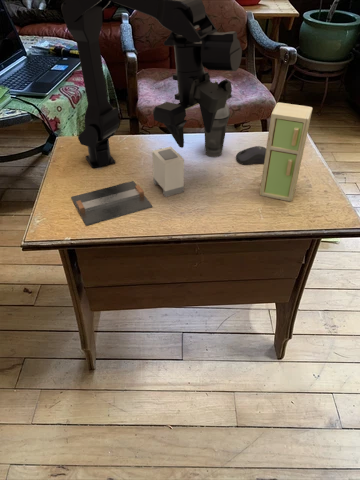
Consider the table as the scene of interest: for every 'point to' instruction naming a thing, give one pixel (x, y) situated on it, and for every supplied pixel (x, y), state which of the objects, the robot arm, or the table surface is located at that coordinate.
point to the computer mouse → (252, 155)
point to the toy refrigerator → (284, 150)
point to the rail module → (168, 170)
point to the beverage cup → (217, 133)
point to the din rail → (110, 202)
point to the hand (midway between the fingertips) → (195, 139)
